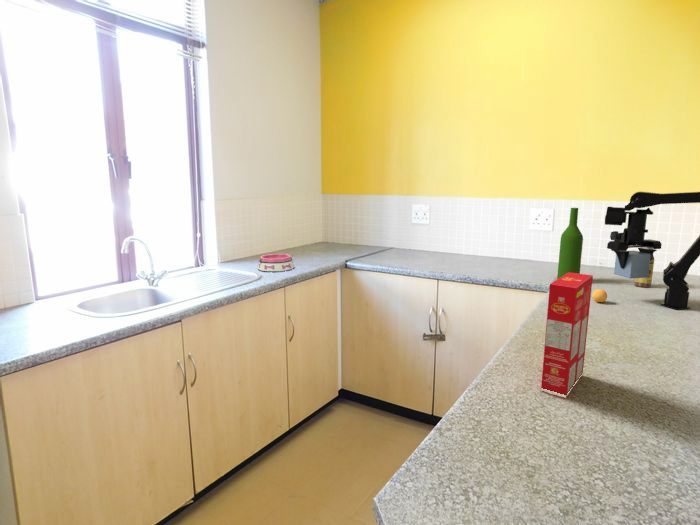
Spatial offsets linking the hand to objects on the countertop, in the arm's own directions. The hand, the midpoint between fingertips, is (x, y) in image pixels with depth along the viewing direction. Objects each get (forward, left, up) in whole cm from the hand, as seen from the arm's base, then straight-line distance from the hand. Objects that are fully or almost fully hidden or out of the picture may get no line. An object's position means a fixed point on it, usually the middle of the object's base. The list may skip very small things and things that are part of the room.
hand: (631, 267), depth 171 cm
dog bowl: (+94, +125, -13) cm, 157 cm away
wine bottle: (+33, 0, -13) cm, 36 cm away
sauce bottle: (+17, -24, -13) cm, 32 cm away
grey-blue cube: (0, 0, -3) cm, 3 cm away
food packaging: (-53, +70, -13) cm, 89 cm away
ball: (+1, +12, -10) cm, 16 cm away
